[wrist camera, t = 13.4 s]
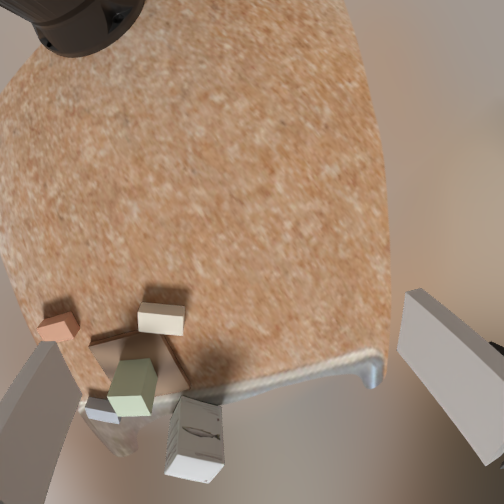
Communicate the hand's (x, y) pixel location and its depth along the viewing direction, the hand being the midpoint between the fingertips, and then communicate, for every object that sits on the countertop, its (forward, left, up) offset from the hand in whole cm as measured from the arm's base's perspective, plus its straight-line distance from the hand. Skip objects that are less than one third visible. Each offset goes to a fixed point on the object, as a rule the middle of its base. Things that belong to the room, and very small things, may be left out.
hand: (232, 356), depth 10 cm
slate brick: (+31, -26, -29) cm, 49 cm away
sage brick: (+22, -16, -27) cm, 38 cm away
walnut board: (+22, -16, -29) cm, 39 cm away
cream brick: (+13, -10, -29) cm, 33 cm away
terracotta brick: (+13, -27, -29) cm, 42 cm away
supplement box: (+34, -10, -29) cm, 46 cm away
